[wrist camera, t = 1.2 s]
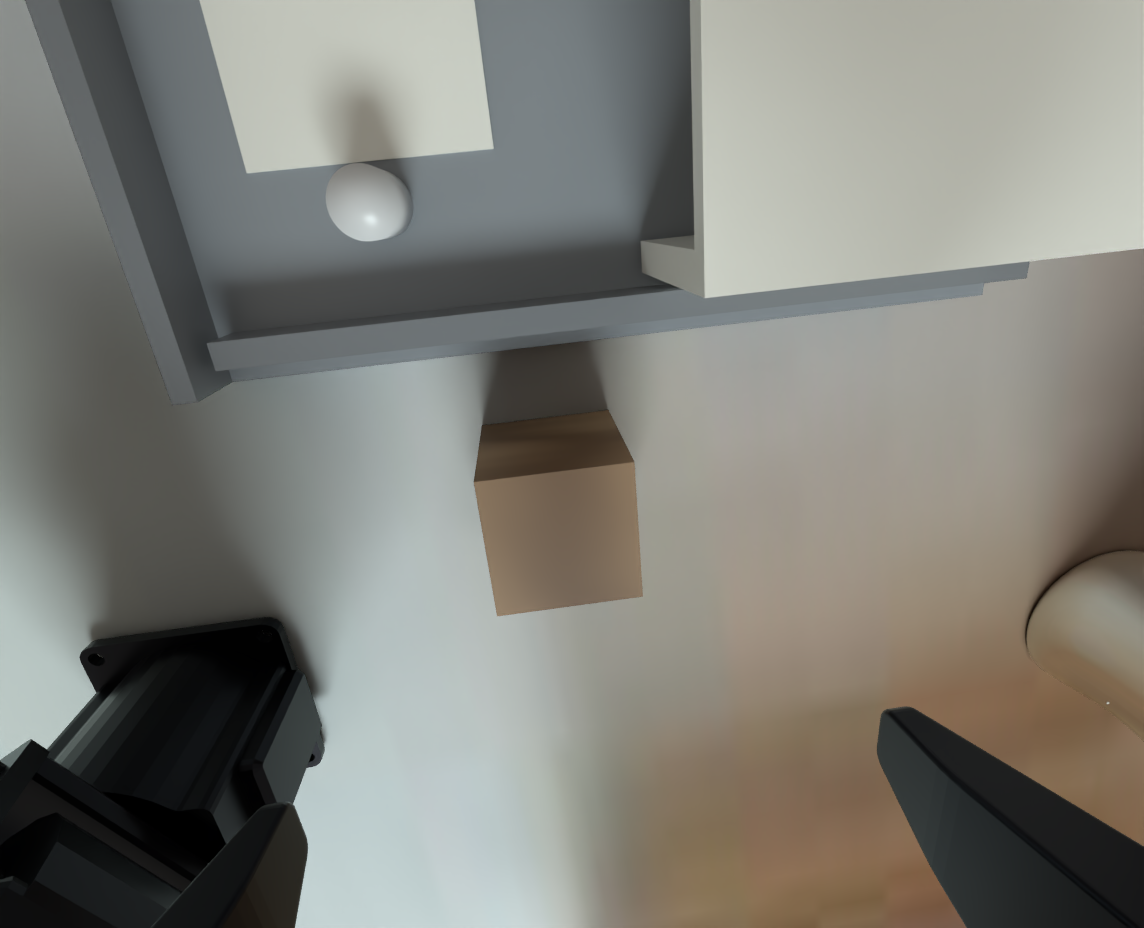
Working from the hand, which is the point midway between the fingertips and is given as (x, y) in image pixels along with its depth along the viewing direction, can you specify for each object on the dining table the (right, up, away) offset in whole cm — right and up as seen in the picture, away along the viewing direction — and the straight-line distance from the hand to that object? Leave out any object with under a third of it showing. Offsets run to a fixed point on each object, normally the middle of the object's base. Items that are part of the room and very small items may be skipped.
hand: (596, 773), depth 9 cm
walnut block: (-1, +4, +11) cm, 12 cm away
